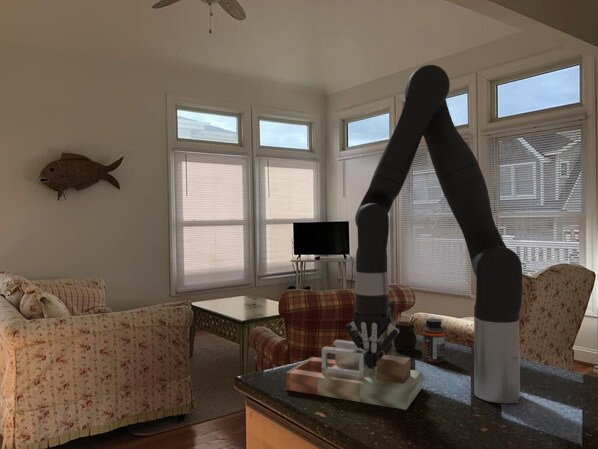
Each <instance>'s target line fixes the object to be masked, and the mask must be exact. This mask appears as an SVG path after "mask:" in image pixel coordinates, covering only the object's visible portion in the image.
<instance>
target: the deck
mask: <svg viewBox="0 0 598 449" xmlns="http://www.w3.org/2000/svg"><path fill="white" fill-rule="evenodd" d="M327 367H333V368H340V369H347V370H354V371H359V367H351V366H344V365H337V364H335V359H329V358H327ZM285 390H287V391H293V392H298V393H304V394H311V395H315V396H316V395H317V396H321V397H329V398H335V399H340V400H341V399H342V400H347V401H353V402H358V403H359V402H360V403H364V404H370V405H377V406H382V407H388V408H393V409H394V408H395V409H399V410H405V411H406V410H408V408H409V407H410V405H411V404H412V402H413V401H414V400H415V398H416V397H417V395H418V394H419V393H420V391H421V390H422V371H421V370H416V369H415V370H413V369H411V376H410V377H409V378H408V379H407V380H406V382H405V383H404V384H402V383H395V382H388V381H381V380H377V367H376V369H375V370H374V369H366V368H365V379H364V380H360V379H353V378H346V377H339V376H332V375H325V374H322V357H315V356H310V357H309V358H307V359H306V360H304V361H302V362H301V363H299V364H298V365H297V364H296V365H295V366H294V367H291V369H289V370H288V371H286V372H285Z"/></svg>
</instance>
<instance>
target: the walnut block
mask: <svg viewBox="0 0 598 449" xmlns="http://www.w3.org/2000/svg"><path fill="white" fill-rule="evenodd" d="M411 363H412V362H411V357H404V356H397V355H394V356H390V355H384V356H383V357H381V358H380V359H379V360H378V361H377V380H381V381H388V382H395V383H402V384H404V383H405V382H406V380H407V379H408V378H409V377H410V376H411V370H412V369H411V368H412V367H411Z"/></svg>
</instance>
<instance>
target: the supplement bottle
mask: <svg viewBox="0 0 598 449" xmlns="http://www.w3.org/2000/svg"><path fill="white" fill-rule="evenodd" d="M425 324H426V325H425V326H424V327H423V328H422V360H423V361H424V362H427V363H432V364H440V363H443V362H444V361H445V359H446V358H445V357H446V349H445V348H446V330H445V328H444V327H443V326H442V320H441V319H440V318H426V321H425Z"/></svg>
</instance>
